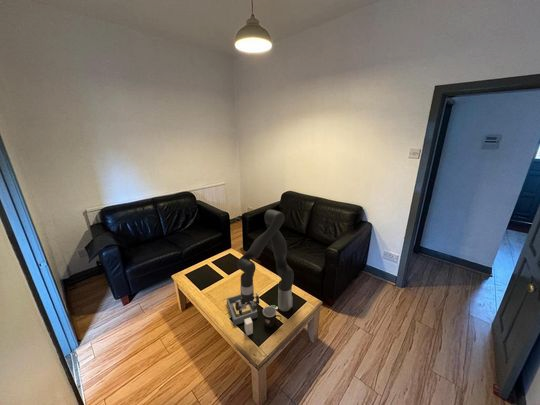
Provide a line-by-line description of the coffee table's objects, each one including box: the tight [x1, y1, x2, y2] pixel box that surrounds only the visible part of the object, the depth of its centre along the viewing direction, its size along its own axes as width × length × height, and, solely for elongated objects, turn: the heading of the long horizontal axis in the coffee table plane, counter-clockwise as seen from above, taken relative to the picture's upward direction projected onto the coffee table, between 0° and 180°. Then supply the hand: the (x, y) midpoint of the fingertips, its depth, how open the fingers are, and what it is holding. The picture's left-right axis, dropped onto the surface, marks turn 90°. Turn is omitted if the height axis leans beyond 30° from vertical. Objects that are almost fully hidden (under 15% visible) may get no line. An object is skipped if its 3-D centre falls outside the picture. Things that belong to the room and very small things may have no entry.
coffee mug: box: [262, 305, 282, 328], centre depth 140 cm, size 12×9×10 cm
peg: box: [243, 318, 254, 336], centre depth 135 cm, size 4×4×9 cm
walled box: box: [226, 293, 259, 326], centre depth 152 cm, size 16×20×5 cm
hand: (247, 311), depth 131 cm, fingers open, 8 cm apart
